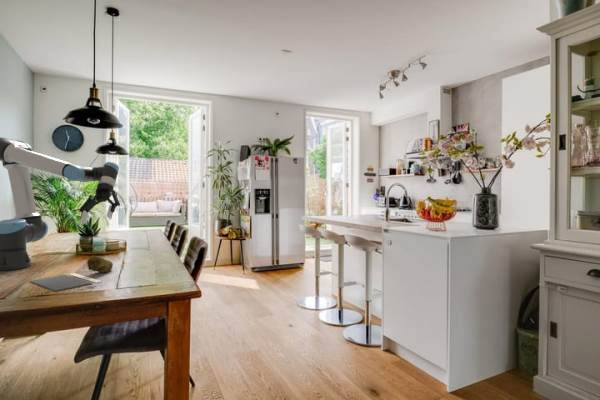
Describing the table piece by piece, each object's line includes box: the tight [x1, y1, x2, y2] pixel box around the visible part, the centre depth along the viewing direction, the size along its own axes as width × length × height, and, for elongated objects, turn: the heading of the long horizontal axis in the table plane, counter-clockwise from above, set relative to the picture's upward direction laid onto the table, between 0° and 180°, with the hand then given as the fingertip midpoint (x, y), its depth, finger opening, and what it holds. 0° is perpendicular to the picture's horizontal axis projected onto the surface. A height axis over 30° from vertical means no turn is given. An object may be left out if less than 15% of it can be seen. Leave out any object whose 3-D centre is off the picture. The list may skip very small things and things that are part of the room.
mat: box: [29, 274, 93, 292], centre depth 143 cm, size 24×13×1 cm, turn 57°
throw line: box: [68, 272, 103, 284], centre depth 151 cm, size 24×2×1 cm, turn 57°
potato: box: [86, 256, 114, 273], centre depth 161 cm, size 8×13×8 cm, turn 152°
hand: (95, 220), depth 166 cm, fingers open, 13 cm apart
